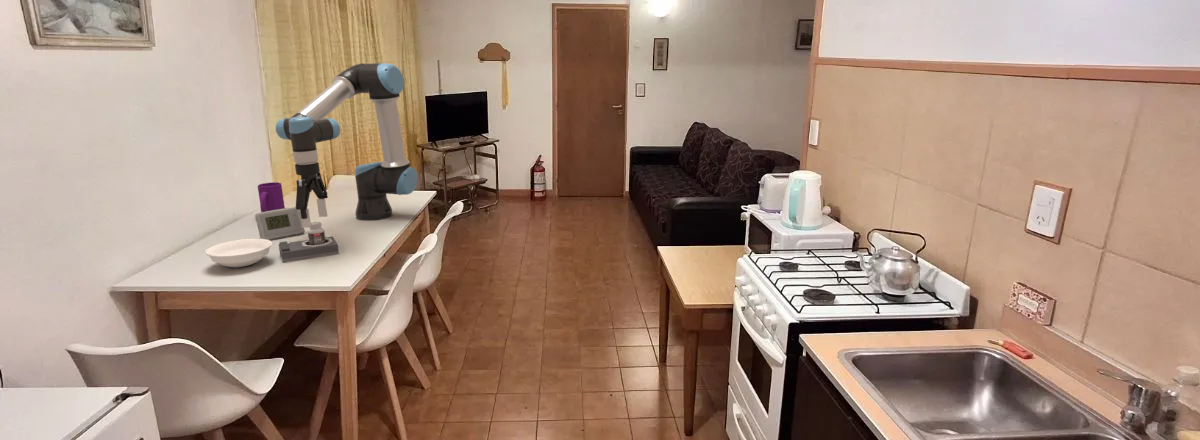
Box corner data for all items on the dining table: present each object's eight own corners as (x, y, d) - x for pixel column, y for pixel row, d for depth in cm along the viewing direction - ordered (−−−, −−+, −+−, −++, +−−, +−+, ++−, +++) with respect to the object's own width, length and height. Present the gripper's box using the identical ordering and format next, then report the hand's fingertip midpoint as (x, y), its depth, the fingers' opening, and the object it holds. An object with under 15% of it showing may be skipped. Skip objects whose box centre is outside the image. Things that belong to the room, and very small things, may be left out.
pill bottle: (316, 252, 224) (313, 225, 222) (306, 250, 227) (303, 223, 224) (329, 248, 229) (326, 222, 226) (319, 246, 231) (316, 220, 229)
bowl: (204, 278, 203) (200, 259, 201) (212, 260, 220) (209, 242, 219) (273, 269, 210) (270, 251, 209) (276, 252, 228) (273, 235, 226)
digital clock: (259, 242, 240) (255, 215, 238) (258, 237, 248) (253, 210, 245) (306, 236, 248) (302, 209, 246) (303, 230, 256) (299, 205, 253)
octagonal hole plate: (333, 245, 236) (332, 234, 235) (338, 253, 226) (337, 242, 225) (279, 253, 227) (278, 241, 226) (282, 262, 217) (281, 250, 216)
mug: (289, 215, 281) (284, 181, 277) (276, 224, 266) (271, 189, 262) (267, 216, 279) (262, 182, 276) (253, 225, 265) (247, 190, 261)
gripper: (311, 156, 231) (319, 212, 237) (278, 170, 207) (288, 232, 213) (331, 155, 231) (339, 212, 237) (301, 169, 207) (310, 231, 213)
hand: (315, 221), depth 225 cm, fingers open, 13 cm apart
